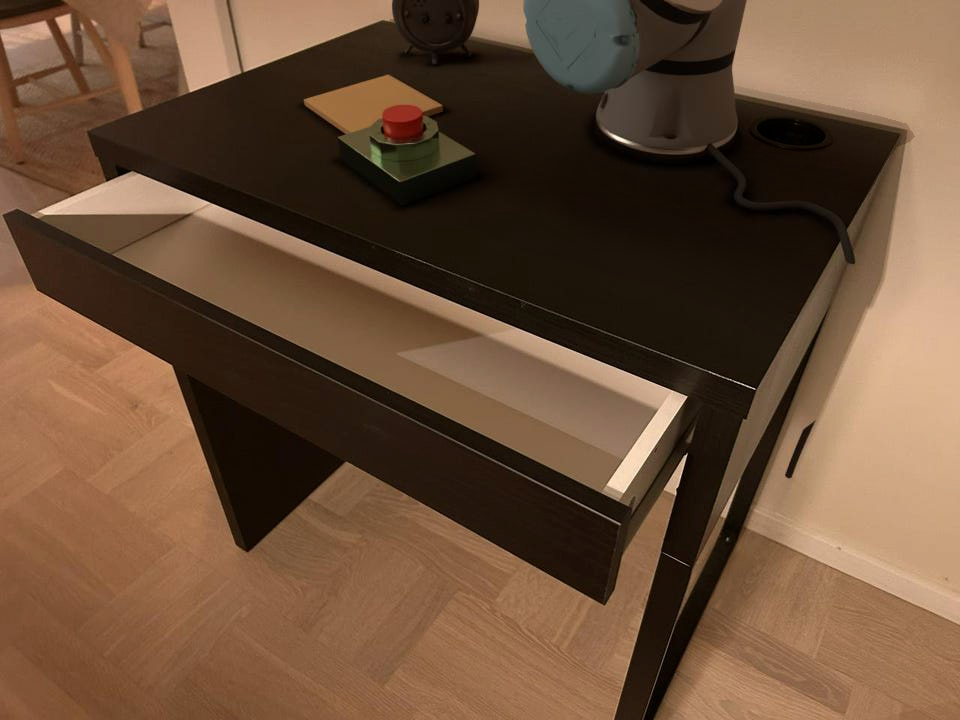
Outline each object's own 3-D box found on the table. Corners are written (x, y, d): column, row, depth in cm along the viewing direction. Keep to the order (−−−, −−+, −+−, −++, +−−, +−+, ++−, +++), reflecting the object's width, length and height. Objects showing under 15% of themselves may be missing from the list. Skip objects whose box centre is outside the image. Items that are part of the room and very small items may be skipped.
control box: (476, 177, 76) (475, 136, 73) (402, 206, 73) (398, 164, 69) (411, 136, 84) (408, 97, 81) (341, 160, 80) (334, 120, 77)
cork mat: (443, 111, 88) (442, 105, 88) (355, 141, 83) (354, 134, 82) (389, 80, 95) (388, 74, 95) (304, 105, 90) (303, 99, 90)
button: (431, 133, 75) (430, 114, 74) (397, 145, 73) (396, 125, 72) (409, 120, 77) (408, 100, 76) (376, 131, 76) (374, 111, 74)
